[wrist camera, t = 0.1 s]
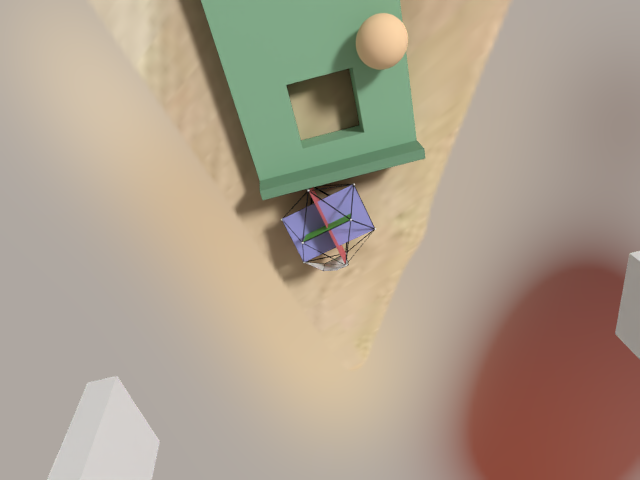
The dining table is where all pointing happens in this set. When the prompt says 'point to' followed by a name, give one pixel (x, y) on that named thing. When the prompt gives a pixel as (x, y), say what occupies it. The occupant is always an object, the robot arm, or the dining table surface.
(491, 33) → the dining table surface
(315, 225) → the geometric puzzle
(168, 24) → the dining table surface
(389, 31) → the orange ball
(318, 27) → the putting mat
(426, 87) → the dining table surface
